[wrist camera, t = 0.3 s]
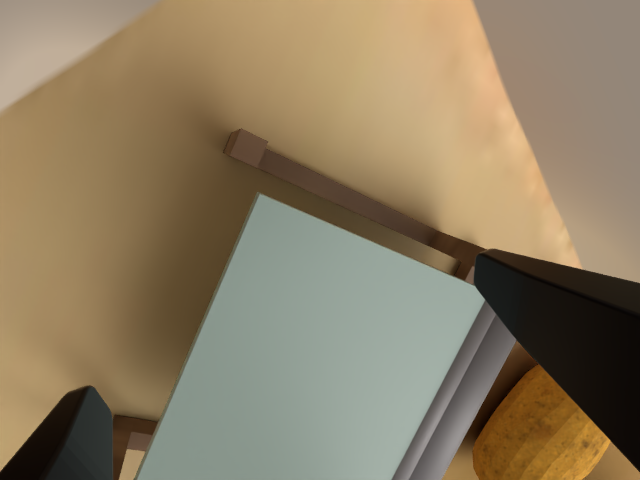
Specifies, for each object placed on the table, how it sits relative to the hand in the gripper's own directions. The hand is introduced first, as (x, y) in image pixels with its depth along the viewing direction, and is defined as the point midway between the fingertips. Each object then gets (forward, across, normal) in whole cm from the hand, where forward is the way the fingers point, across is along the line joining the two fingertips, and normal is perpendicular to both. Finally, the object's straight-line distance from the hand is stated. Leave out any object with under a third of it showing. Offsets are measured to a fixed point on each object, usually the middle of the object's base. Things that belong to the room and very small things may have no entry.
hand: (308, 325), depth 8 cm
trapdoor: (+9, -3, +12) cm, 15 cm away
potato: (+10, -18, +27) cm, 34 cm away
